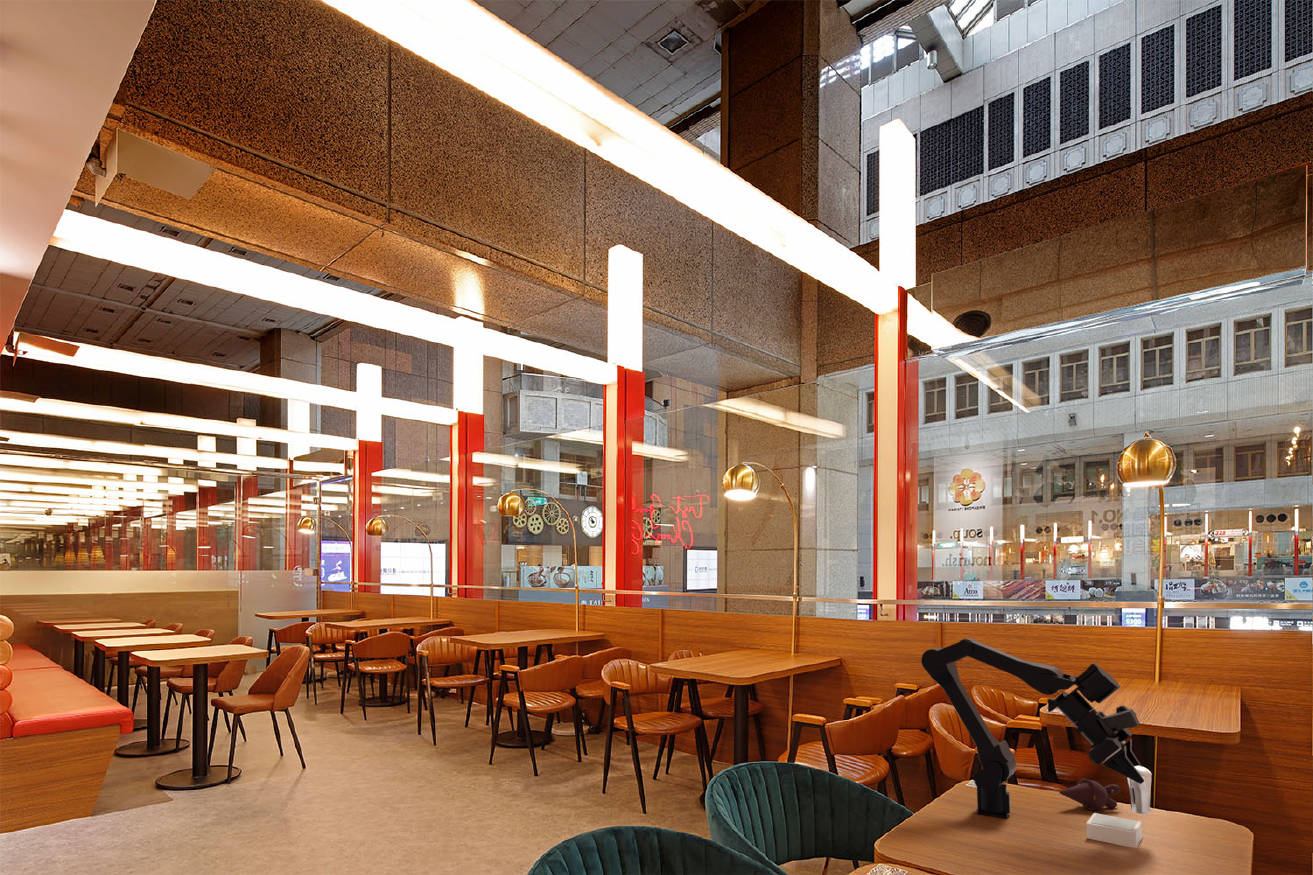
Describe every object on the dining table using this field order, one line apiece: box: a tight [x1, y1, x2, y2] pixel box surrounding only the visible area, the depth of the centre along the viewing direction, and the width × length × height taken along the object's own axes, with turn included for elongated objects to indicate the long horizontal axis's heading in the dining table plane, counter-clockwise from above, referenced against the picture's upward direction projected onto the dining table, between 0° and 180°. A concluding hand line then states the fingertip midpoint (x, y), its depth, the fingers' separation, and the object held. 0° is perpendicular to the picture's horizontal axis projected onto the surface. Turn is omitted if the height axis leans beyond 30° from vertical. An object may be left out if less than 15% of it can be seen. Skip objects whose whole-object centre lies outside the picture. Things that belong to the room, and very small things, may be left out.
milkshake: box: [1126, 765, 1152, 816], centre depth 165 cm, size 4×5×10 cm
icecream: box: [1059, 778, 1122, 812], centre depth 186 cm, size 7×7×15 cm
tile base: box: [1085, 812, 1143, 849], centre depth 167 cm, size 9×9×3 cm
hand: (1144, 780), depth 165 cm, fingers closed on milkshake, 4 cm apart
